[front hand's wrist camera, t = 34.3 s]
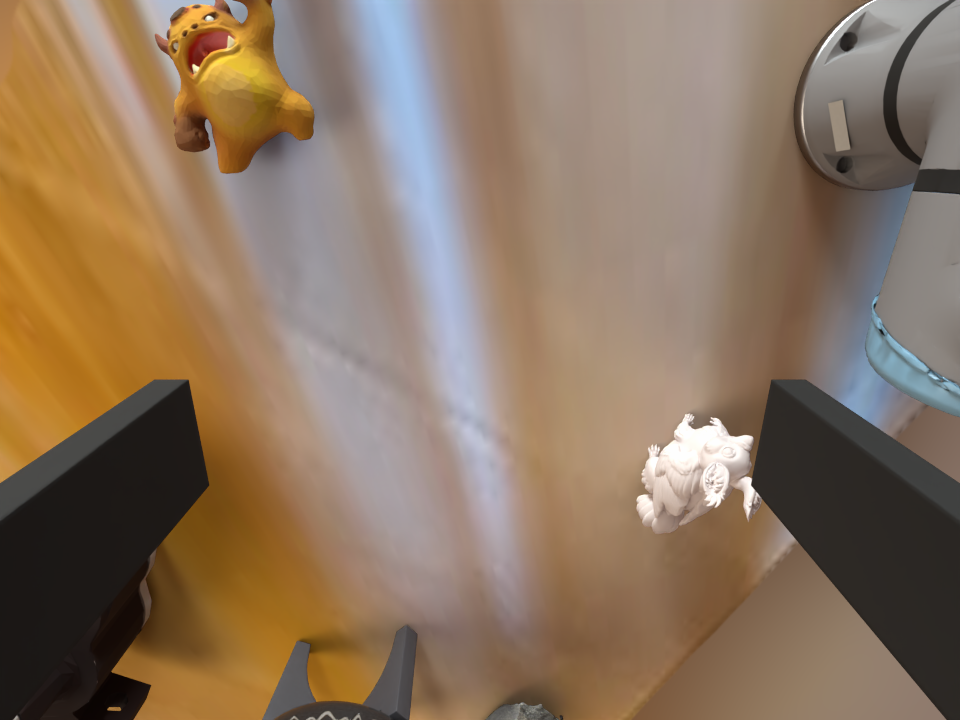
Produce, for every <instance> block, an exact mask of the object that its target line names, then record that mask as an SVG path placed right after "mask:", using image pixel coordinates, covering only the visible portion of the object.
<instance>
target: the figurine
mask: <svg viewBox="0 0 960 720" xmlns="http://www.w3.org/2000/svg"><path fill="white" fill-rule="evenodd" d="M692 415H693V414H692ZM692 415H690V413H689V414H688V415H687V414H686V415H685V418H684V419H683V421H682V423H680V424H679V426H678V427H677V430H675V432H674V434H675V435H674V437H675V439H676V440H674V441H672V442H671V443H670V444H669V445H668V446H666V447H665V448H664V449H663V450H662V452H661V453H660V455H659V457H658V454H659V451H660V448H658V449H657V444H656V445H655V447H653V444H652V446H651V450H650V448H649V449H648V451H649V459H648V460H647V462H646V465H645V468H644V470H643V473H642V480H641V481H642V483H643V484H644V485H645V489H646V490H648V492H649V493H651V494H645V495H641V496H639V497H638V498H637V500H636V501H637V503H638V505H637V511H638V512H639V517H640V518H641V519H642V523H643V525H644V526H646V527H652V530H653V531H654V533H656V534H662V533H665V532H666V533H671V532H673V531H675V530H676V529H677V528H678V526H679V525H685V524H687V523H689V522H691V521H693V520H694V519H696V518H697V517H699V516H702V515H704V514H705V513H707V512H708V511H710V510H711V509H712V508H713V507H714V506H715V508H716V507H718V506H719V505H720V504H721V502H722V501H724V500H725V499H726V498H727V497H728V496H729V495H730V493H731V492H732V490H733V488H736V489H739V490H742V491H743V493H744V510H745V512H746V515H747V520H748V522H749V519H750V518H751V519H752V514H755V512H756V511H757V510H758V509H759V508H760V505H761V500H762V499H761V497H760V496H759V494H758V493H757V492H756V491H755V490H754V489H753V487H752V486H751V482H752V479H751V478H750V477H747V476H745V475H746V474H747V473H748V472H749V470H750V469H751V467H752V465H751V461H750V452H749V451H751V450H752V446H753V443H754V438H753V437H752V436H749V435H743V436H739V437H734V436H730V435H729V434H728V431H727V430H726V428H725V427H724V426H723V425H722V423H721V421H720V420H719V419H717V418H712V417H710V418H711V419H712V420H713V421H714V422H713V421H710V423H711V424H713V425H714V426H704V427H703V428H699V429H693V428H691V427H690V425H692V424H694V423H693V422H691V421H692V420H693V419H694V417H695V416H694V417H692ZM689 416H690V417H689ZM654 448H655V449H654ZM684 510H689V512H688V513H687V514H686V515H685V517H684Z"/></svg>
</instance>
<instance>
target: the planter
mask: <svg viewBox="0 0 960 720" xmlns="http://www.w3.org/2000/svg"><path fill="white" fill-rule="evenodd" d="M416 643H417V633H415V632H414V631H413V630H412V629H411V628H410V627H408V626H407V625H406V626H404V627H403V628H401V629H400V630H398V631H397V633H396V636H395V640H394V644H393V647H392V651H391V654H390V656H389V659H388V661H387V664H386V666H385V669H384V671H383V673H382V675H381V677H380V679H379V680H378V682H377V684H376V686H375V687H374V689H373V690H372V692H371V694H370V695H369V696H368V698H367V699H366V700H365V702H364V703H363V704H362V705H361V704H357V703H351V702H343V701H320V702H316V700H315V698H314V697H313V695H312V692H311V690H310V687H309V683H308V677H307V661H308V656H309V651H310V646H311V644H308V643H304V642H300V641H297V642H296V645H295V647H294V649H293V651H292V654H291V656H290V658H289V660H288V663H287V665H286V667H285V670H284V672H283V674H282V676H281V679H280V681H279V683H278V685H277V688H276V690H275V692H274V694H273V697H272V699H271V701H270V703H269V706H268V708H267V710H266V713H265V715H264V717H263V719H262V720H409V718H410V707H411V696H412V685H413V675H414V664H415V654H416Z"/></svg>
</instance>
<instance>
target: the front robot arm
mask: <svg viewBox="0 0 960 720" xmlns="http://www.w3.org/2000/svg"><path fill="white" fill-rule="evenodd" d="M794 127H795V134H796V138H797V142H798V144H799V147H800V150H801V152H802V154H803V156H804V157H805V159H806V160H807V162H808V164H809V165H810V166H811V167H812V168H813V169H814V170H815V171H816V172H817V173H818V174H819V175H820V176H822V177H823V178H824V179H826V180H828V181H829V182H831V183H833V184H836V185H838V186H841V187H845V188H850V189H857V190H872V191H873V190H886V189H891V188H897V187H902V186H905V185H909V184H912V183H914V182H915V185H914V188H913V190H912V193H911V196H910V200H909V203H908V206H907V209H906V212H905V215H904V218H903V222H902V225H901V228H900V231H899V234H898V237H897V240H896V244H895V247H894V250H893V253H892V256H891V259H890V262H889V266H888V269H887V272H886V275H885V278H884V281H883V285H882V288H881V291H880V294H879V295H877V296H876V297H875V299H874V300H873V303H872V306H871V309H872V311H871V316H872V319H871V323H870V326H869V330H868V334H867V338H866V342H865V350H866V354H867V357H868V361H869V363H870V365H871V366H872V367H873V369H874V370H875V371H876V372H877V373H878V374H879V375H880V376H881V377H882V378H883V379H884V380H886V381H887V382H888V383H890V384H891V385H892V386H894V387H895V388H897V389H899V390H900V391H902V392H904V393H905V394H907V395H909V396H911V397H913V398H915V399H917V400H918V401H920V402H923V403H925V404H927V405H929V406H931V407H934V408H936V409H938V410H941V411H943V412H946V413H948V414H951V415H954V416H957V417H960V195H959V194H960V0H871V1H869V2H867V3H865V4H863V5H861V6H859V7H858V8H856V9H854V10H853V11H851V12H850V13H849V14H847V15H846V16H845V17H843V18H842V19H841V20H840V21H839V22H837V23H836V24H835V25H834V26H833V27H832V28H831V29H830V30H829V31H828V32H827V34H826V35H825V36H824V37H823V38H822V40H821V41H820V42H819V44H818V45H817V46H816V48H815V49H814V51H813V53H812V54H811V56H810V58H809V60H808V62H807V64H806V65H805V68H804V70H803V72H802V75H801V77H800V81H799V84H798V87H797V92H796V96H795V103H794ZM916 191H918V192H916ZM931 192H940V193H931ZM945 193H955V194H945ZM208 486H209V482H208V476H207V471H206V466H205V461H204V456H203V451H202V446H201V441H200V436H199V431H198V426H197V421H196V415H195V410H194V405H193V400H192V395H191V390H190V385H189V380H153V381H152V382H150V383H149V384H147V385H146V386H144V387H143V388H141V389H140V390H138V391H137V392H135V393H134V394H133V395H131V396H130V397H128V398H127V399H125V400H124V401H122V402H121V403H119V404H118V405H116V406H115V407H113V408H112V409H110V410H109V411H107V412H106V413H104V414H103V415H101V416H100V417H98V418H97V419H95V420H94V421H92V422H91V423H89V424H88V425H86V426H85V427H83V428H82V429H80V430H79V431H77V432H76V433H74V434H73V435H71V436H70V437H68V438H67V439H66V440H64V441H63V442H61V443H60V444H58V445H57V446H55V447H54V448H52V449H51V450H49V451H48V452H46V453H45V454H43V455H42V456H40V457H39V458H37V459H36V460H34V461H33V462H31V463H30V464H28V465H27V466H25V467H24V468H22V469H21V470H19V471H18V472H16V473H15V474H13V475H12V476H10V477H9V478H7V479H6V480H4V481H3V482H1V483H0V720H14V718H15V717H16V716H17V715H18V714H19V712H20V711H21V710H22V709H23V708H24V706H25V705H26V704H27V703H28V702H29V700H30V699H31V698H32V697H33V696H34V694H35V693H36V692H37V691H38V690H39V688H40V687H41V686H42V685H43V684H44V682H45V681H46V680H47V679H48V678H49V676H50V675H51V674H52V673H53V672H54V670H55V669H56V668H57V667H58V666H59V664H60V663H61V662H62V661H63V660H64V659H65V657H66V656H67V655H68V654H69V653H70V651H71V650H72V649H73V648H74V647H75V645H76V644H77V643H78V642H79V641H80V639H81V638H82V637H83V636H84V635H85V633H86V632H87V631H88V630H89V629H90V627H91V626H92V625H93V624H94V623H95V621H96V620H97V619H98V618H99V617H100V615H101V614H102V613H103V612H104V611H105V609H106V608H107V607H108V606H109V605H110V603H111V602H112V601H113V600H114V599H115V597H116V596H117V595H118V594H119V593H120V591H121V590H122V589H123V588H124V587H125V585H126V584H127V583H128V582H129V581H130V579H131V578H132V577H133V576H134V575H135V574H136V572H137V571H138V570H139V569H140V568H141V566H142V565H143V564H144V563H145V562H146V560H147V559H148V558H149V557H150V556H151V554H152V553H153V552H154V551H155V550H156V548H157V547H158V546H159V545H160V544H161V542H162V541H163V540H164V539H165V538H166V536H167V535H168V534H169V533H170V532H171V530H172V529H173V528H174V527H175V526H176V524H177V523H178V522H179V521H180V520H181V518H182V517H183V516H184V515H185V514H186V512H187V511H188V510H189V509H190V508H191V506H192V505H193V504H194V503H195V502H196V500H197V499H198V498H199V497H200V496H201V494H202V493H203V492H204V491H205V490H206V489H207V487H208ZM751 486H752V487H753V489H754V490H755V491H756V492H757V493H758V494H759V496H760V497H761V498H762V499H763V500H764V502H765V503H766V504H767V505H768V506H769V508H770V509H771V510H772V511H773V512H774V514H775V515H776V516H777V517H778V518H779V520H780V521H781V522H782V523H783V524H784V526H785V527H786V528H787V529H788V530H789V532H790V533H791V534H792V535H793V536H794V538H795V539H796V540H797V541H798V542H799V544H800V545H801V546H802V547H803V548H804V550H805V551H806V552H807V553H808V554H809V556H810V557H811V558H812V559H813V560H814V561H815V563H816V564H817V565H818V566H819V568H820V569H821V570H822V571H823V572H824V574H825V575H826V576H827V577H828V578H829V579H830V581H831V582H832V583H833V584H834V585H835V587H836V588H837V589H838V590H839V591H840V593H841V594H842V595H843V596H844V597H845V599H846V600H847V601H848V602H849V603H850V605H851V606H852V607H853V608H854V609H855V611H856V612H857V613H858V614H859V615H860V617H861V618H862V619H863V620H864V621H865V622H866V624H867V625H868V626H869V627H870V629H871V630H872V631H873V632H874V633H875V635H876V636H877V637H878V638H879V639H880V641H881V642H882V643H883V644H884V645H885V647H886V648H887V649H888V650H889V651H890V653H891V654H892V655H893V656H894V657H895V658H896V660H897V661H898V662H899V663H900V664H901V666H902V667H903V668H904V669H905V670H906V672H907V673H908V674H909V675H910V676H911V678H912V679H913V680H914V681H915V682H916V684H917V685H918V686H919V687H920V688H921V690H922V691H923V692H924V693H925V694H926V696H927V697H928V698H929V699H930V700H931V702H932V703H933V704H934V705H935V706H936V708H937V709H938V710H939V711H940V712H941V714H942V715H943V716H944V717H945V718H946V720H960V483H959V482H957V481H956V480H954V479H953V478H951V477H950V476H948V475H947V474H945V473H944V472H942V471H941V470H939V469H938V468H936V467H935V466H933V465H932V464H930V463H929V462H927V461H926V460H924V459H923V458H921V457H920V456H918V455H917V454H915V453H914V452H912V451H911V450H909V449H908V448H906V447H905V446H903V445H902V444H900V443H899V442H897V441H896V440H894V439H893V438H892V437H890V436H889V435H887V434H886V433H884V432H883V431H881V430H880V429H878V428H877V427H875V426H874V425H872V424H871V423H869V422H868V421H866V420H865V419H863V418H862V417H860V416H859V415H857V414H856V413H854V412H853V411H851V410H850V409H848V408H847V407H845V406H844V405H842V404H841V403H839V402H838V401H836V400H835V399H833V398H832V397H830V396H829V395H827V394H826V393H825V392H823V391H822V390H820V389H819V388H817V387H816V386H814V385H813V384H811V383H810V382H808V381H807V380H771V385H770V390H769V395H768V400H767V405H766V410H765V415H764V421H763V426H762V431H761V436H760V441H759V446H758V451H757V456H756V461H755V466H754V471H753V476H752V482H751Z"/></svg>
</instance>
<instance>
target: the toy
mask: <svg viewBox="0 0 960 720" xmlns="http://www.w3.org/2000/svg"><path fill="white" fill-rule="evenodd" d="M234 1H238V2H241V3H243V4H244V5H245V6H246V7H247V10H248V16H247V19H246V21H245V22H244V23H243V24H241V23H240V22H238V21H237V20H236V19H235V18H234V17H233V15H232V14H231V11H230V8H229V6H228V4H227V3H226V2H225V1H224V0H215V6H209V5H200V4H196V5H190V6H187V7H181V8H179V9H178V10H177V11H176V12H175V13H174V14H173V15H172V16H171V18H170V21H171V25H170V28H169V30H168V31H167V38H168V41H167V40H165V39H163V38H162V37H160V36H159V35H158V34H155V39H156V42H157V44H158V46H159V48H160V49H161V50H162V51H163V52H165V53H166V54H168V55H169V56H170V57H171V59H172V60H173V61H174V64H175V66H176V68H177V70H178V72H179V75H180V78H181V90H180V92H179V95H178V97H177V99H176V100H175V103H174V107H175V116H174V124H175V126H176V129H175V139H176V143H177V146H178V148H179V149H181V150H184V151H190V152H199V151H203V150H206V149H208V148H209V147H210V141H209V139H208V133H207V131H206V129H205V120H206V119H208V120H209V121H210V123H211V125H212V132H213V138H214V141H215V145H216V149H217V155H218V165H219V169H220V172H221V173H226V174H228V173H239V172H242V171H244V170H245V169H246V168H247V167H248V165H249V164H250V162H251V160H252V158H253V155H254V154H255V153H256V151H257V150H258V149H259V148H260V147H261V146H262V145H263V144H264V143H266V142H267V141H268V140H270V139H271V138H273V137H274V136H276V135H277V134H279V133H281V132H288V133H291V134H293V135H294V137H295V138H297V139H298V140H306V139H310V138H311V137H312V135H313V123H314V110H313V108H312V106H311V104H310V103H309V102H308V101H307V100H306V99H305V98H304V97H303V96H302V95H301V94H299V93H297V92H295V91H293V90H292V89H291V88H290V87H289V86H288V84H287V83H286V81H285V79H284V78H283V76H282V74H281V72H280V70H279V68H278V66H277V63H276V59H275V55H274V49H273V34H274V27H275V21H274V16H273V11H272V7H271V3H272V0H234Z"/></svg>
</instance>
